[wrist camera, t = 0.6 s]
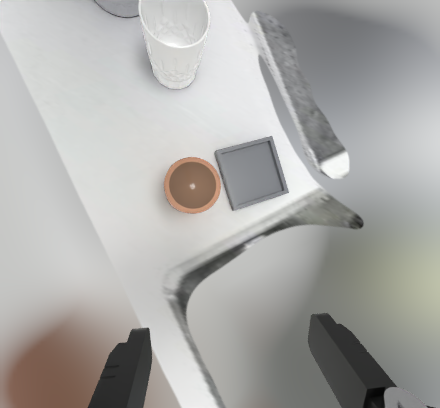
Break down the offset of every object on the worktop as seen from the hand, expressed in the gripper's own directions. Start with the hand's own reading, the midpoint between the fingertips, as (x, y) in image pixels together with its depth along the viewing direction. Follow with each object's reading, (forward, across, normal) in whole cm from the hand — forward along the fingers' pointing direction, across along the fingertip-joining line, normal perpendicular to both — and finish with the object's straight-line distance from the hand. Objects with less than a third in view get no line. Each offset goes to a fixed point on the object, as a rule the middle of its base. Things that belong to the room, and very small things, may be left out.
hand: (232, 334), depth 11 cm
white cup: (+31, +4, -20) cm, 37 cm away
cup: (+25, +3, -2) cm, 26 cm away
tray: (+27, -7, -4) cm, 29 cm away
